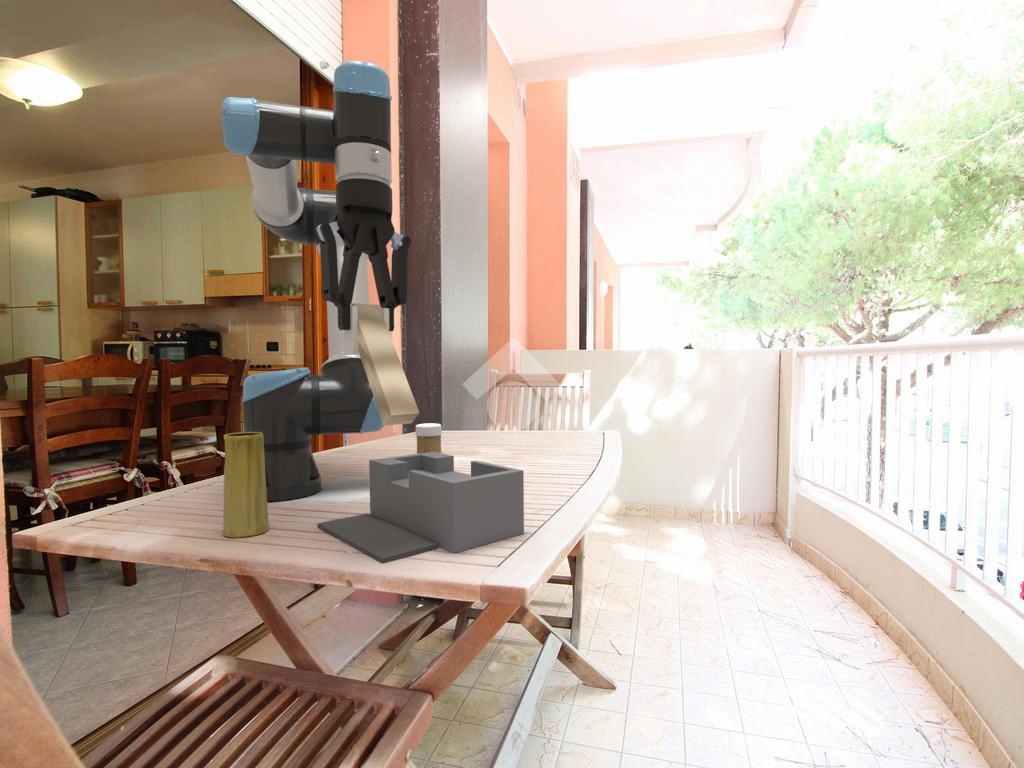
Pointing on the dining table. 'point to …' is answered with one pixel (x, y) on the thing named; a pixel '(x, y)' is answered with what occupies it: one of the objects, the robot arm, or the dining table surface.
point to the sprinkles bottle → (428, 437)
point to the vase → (245, 485)
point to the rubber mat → (377, 537)
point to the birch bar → (384, 368)
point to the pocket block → (448, 499)
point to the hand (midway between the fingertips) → (367, 354)
